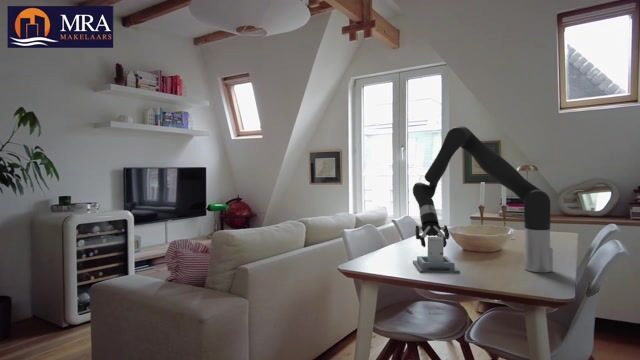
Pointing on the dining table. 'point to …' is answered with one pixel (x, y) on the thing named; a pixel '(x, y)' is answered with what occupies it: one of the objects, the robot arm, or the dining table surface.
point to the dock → (435, 265)
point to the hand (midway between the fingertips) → (434, 246)
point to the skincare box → (435, 249)
